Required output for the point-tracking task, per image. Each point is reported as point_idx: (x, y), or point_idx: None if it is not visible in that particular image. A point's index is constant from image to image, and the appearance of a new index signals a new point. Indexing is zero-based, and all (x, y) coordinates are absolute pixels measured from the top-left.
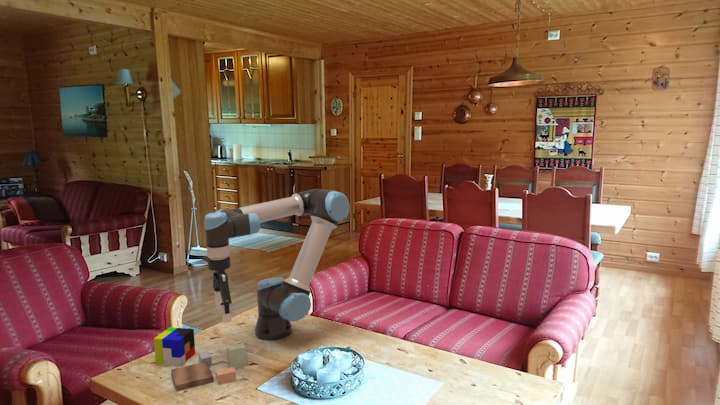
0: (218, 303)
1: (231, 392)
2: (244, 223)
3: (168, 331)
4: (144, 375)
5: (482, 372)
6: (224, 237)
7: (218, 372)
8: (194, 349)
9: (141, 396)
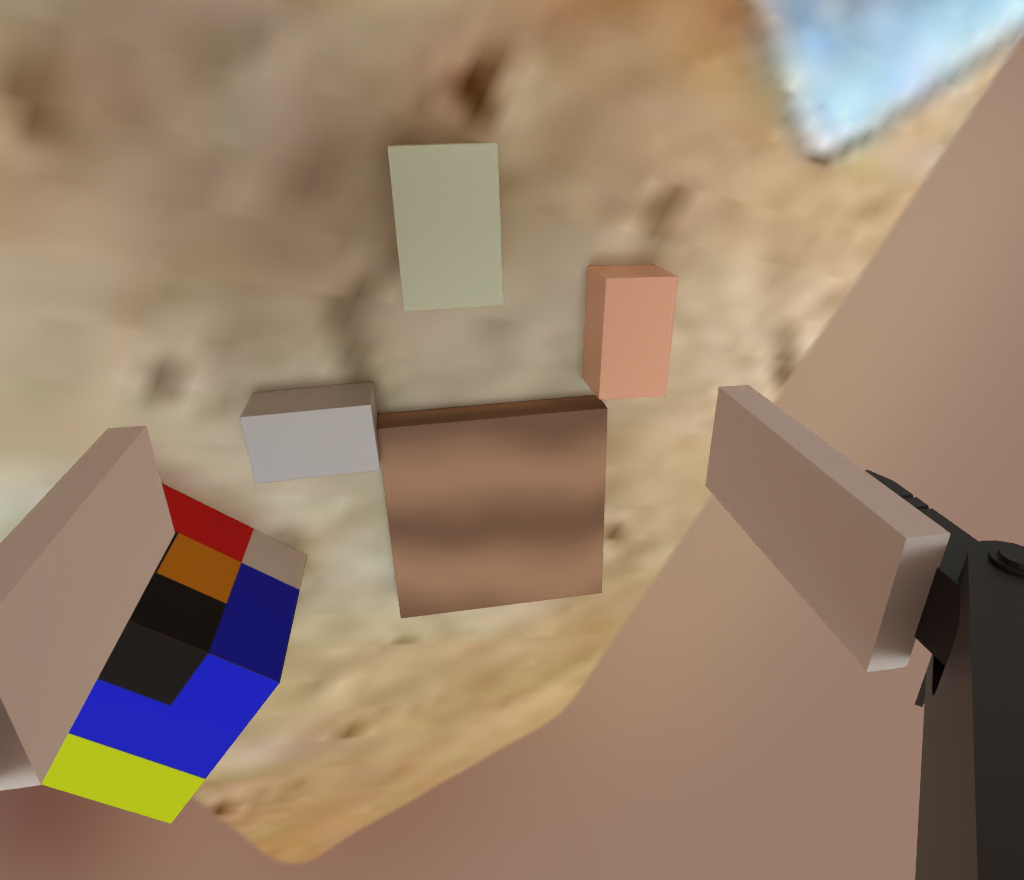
0: (129, 551)
1: (768, 316)
2: None
3: None
4: (344, 709)
5: None
6: None
7: (629, 386)
8: None
9: (555, 699)
